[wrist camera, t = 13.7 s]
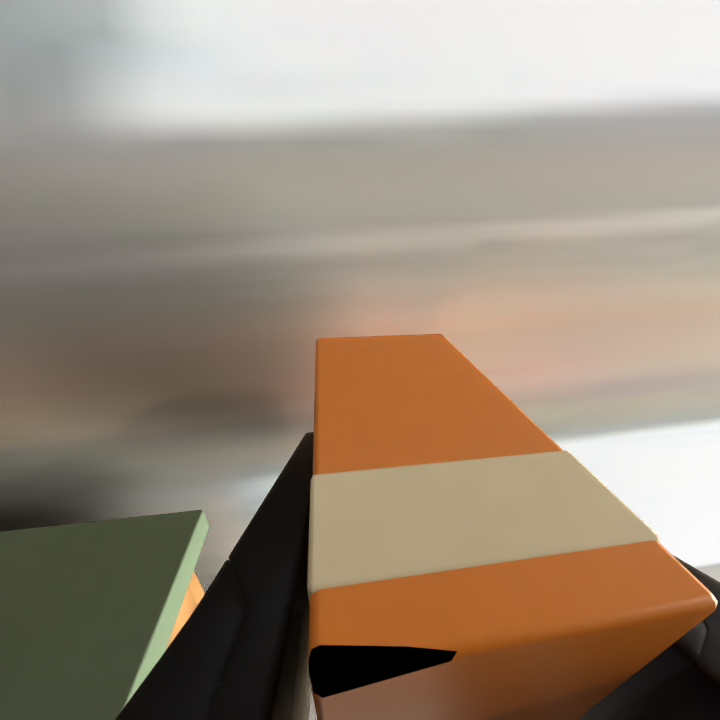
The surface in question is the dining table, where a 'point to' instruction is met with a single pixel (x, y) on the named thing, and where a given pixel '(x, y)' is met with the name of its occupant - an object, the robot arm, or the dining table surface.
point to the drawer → (92, 611)
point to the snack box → (468, 551)
